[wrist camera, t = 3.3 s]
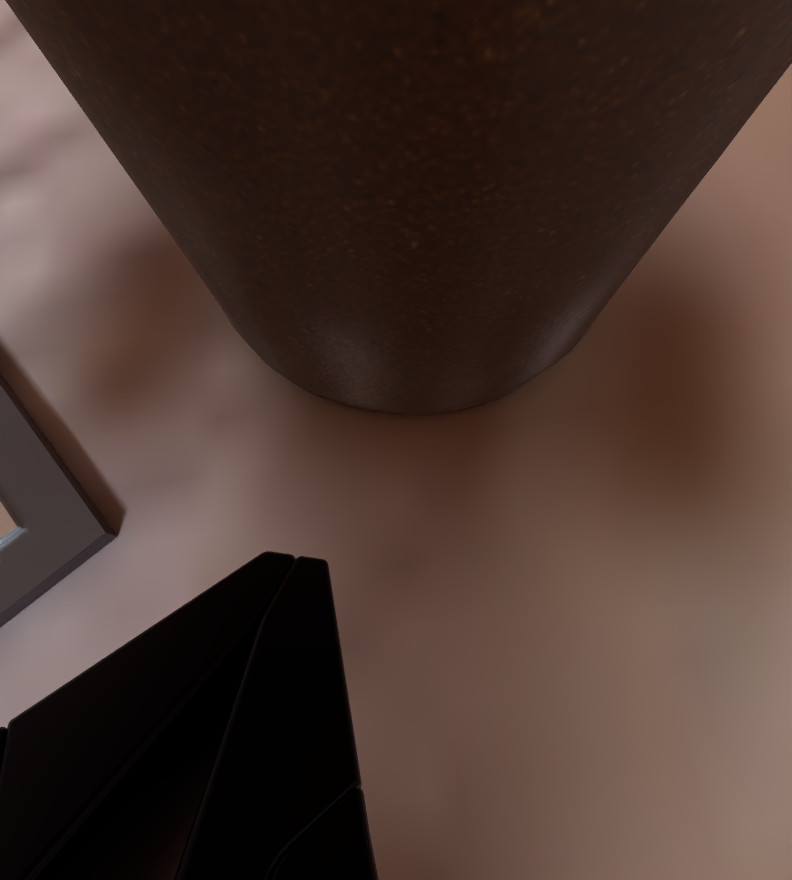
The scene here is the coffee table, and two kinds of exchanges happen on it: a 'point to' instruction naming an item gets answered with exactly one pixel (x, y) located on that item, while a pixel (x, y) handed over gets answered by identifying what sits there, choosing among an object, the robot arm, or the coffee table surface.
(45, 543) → the panel
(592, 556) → the coffee table surface
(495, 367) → the plant pot
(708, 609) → the coffee table surface
